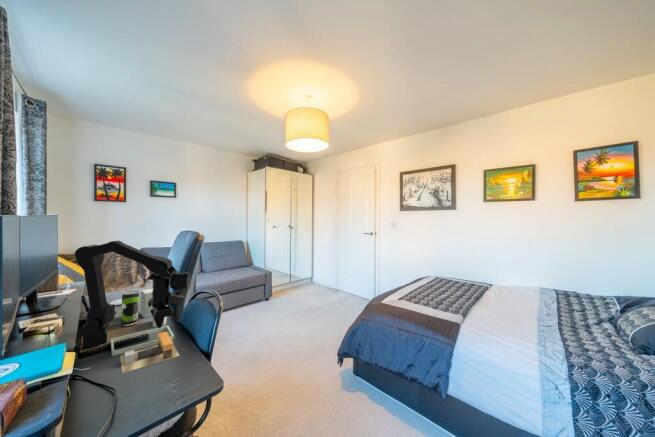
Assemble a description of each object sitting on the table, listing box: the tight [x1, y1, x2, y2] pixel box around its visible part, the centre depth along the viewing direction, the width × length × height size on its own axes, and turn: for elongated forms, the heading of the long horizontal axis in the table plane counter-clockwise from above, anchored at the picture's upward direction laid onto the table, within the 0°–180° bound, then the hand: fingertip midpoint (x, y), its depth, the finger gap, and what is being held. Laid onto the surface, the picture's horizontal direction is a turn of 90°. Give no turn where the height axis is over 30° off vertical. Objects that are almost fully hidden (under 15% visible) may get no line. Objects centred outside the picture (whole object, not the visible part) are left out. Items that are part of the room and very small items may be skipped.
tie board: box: [119, 341, 180, 374], centre depth 88 cm, size 16×13×4 cm
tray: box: [110, 325, 175, 357], centre depth 98 cm, size 19×12×2 cm, turn 133°
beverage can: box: [120, 290, 140, 326], centre depth 114 cm, size 6×6×15 cm
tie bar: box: [156, 330, 174, 351], centre depth 91 cm, size 3×12×2 cm, turn 43°
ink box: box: [152, 305, 169, 328], centre depth 117 cm, size 8×5×12 cm, turn 25°
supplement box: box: [139, 287, 153, 319], centre depth 126 cm, size 7×7×13 cm
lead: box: [123, 345, 163, 365], centre depth 88 cm, size 14×3×3 cm, turn 133°
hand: (159, 327), depth 100 cm, fingers closed
